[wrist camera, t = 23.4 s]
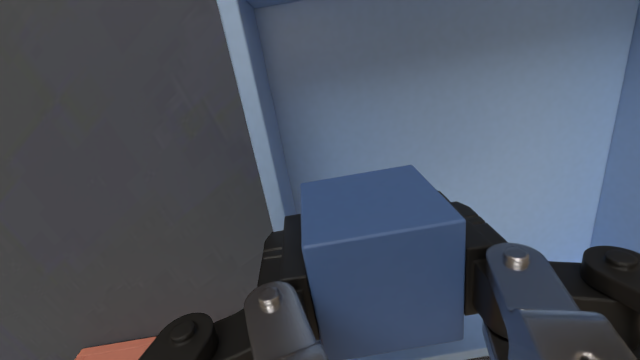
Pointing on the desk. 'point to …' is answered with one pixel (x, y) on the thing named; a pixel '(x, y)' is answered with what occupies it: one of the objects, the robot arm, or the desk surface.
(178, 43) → the desk surface
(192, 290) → the desk surface
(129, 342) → the red bin
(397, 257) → the blue block
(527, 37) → the blue bin
